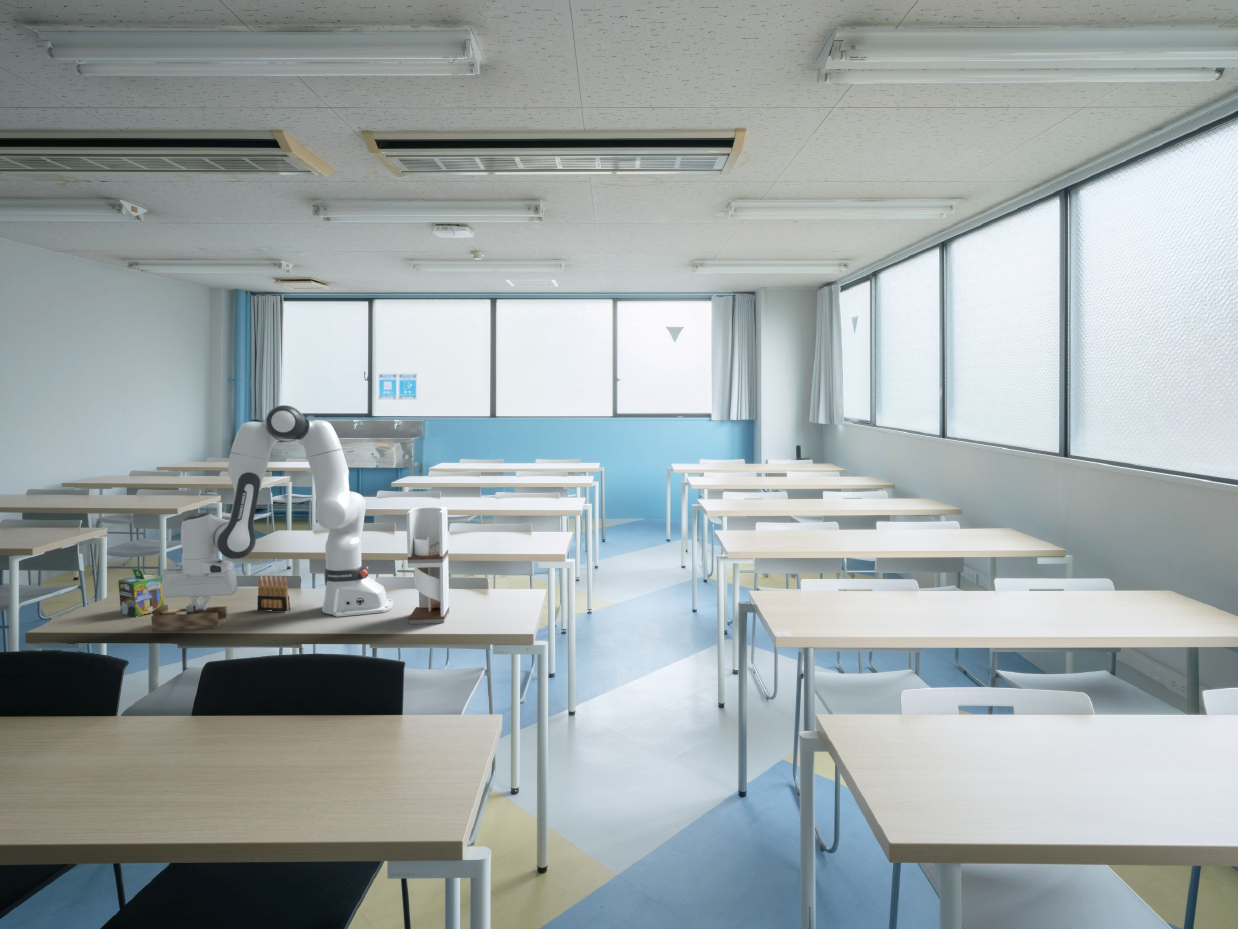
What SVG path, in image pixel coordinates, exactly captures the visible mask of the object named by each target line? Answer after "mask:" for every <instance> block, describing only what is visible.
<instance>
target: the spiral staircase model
mask: <svg viewBox="0 0 1238 929" xmlns="http://www.w3.org/2000/svg"><path fill="white" fill-rule="evenodd" d="M448 524H449V522H448V506H441V507H440V506H437V507H434V506H431V507H430V506H429V507H424V506H423V507H422V506H421V507H413V508H411V509H410V510H407V512H406V544H407V545H406V546H407V548H406V550H407V568H408V569H409V568H413V569H414V586H415V589H416V590H417V591H418V606H415V608H414V609H413V611H412V612H411V613H410V615H409V617H408V624H409V625H416V624H418V625H419V624H445V622H446V620H445V619H447V618H446V617H448V616H447V615H449V614H448V613H450V586H449V584H450V582H449V581H450V580H449V579H450V578H449V573H450V572H449V525H448Z"/></svg>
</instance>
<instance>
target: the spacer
mask: <svg viewBox="0 0 1238 929" xmlns="http://www.w3.org/2000/svg"><path fill="white" fill-rule="evenodd" d="M182 608H183V607H179V608H178V607H177V608H175V609H174V608H168V609H166V610H165V611H163V612H161V615H176V614H178V613H180V612H182Z"/></svg>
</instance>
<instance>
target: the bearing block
mask: <svg viewBox="0 0 1238 929" xmlns="http://www.w3.org/2000/svg"><path fill="white" fill-rule="evenodd" d="M227 607H228V606H227V605H226V606H224V605H223V606H207V609H206V610H199V613H198V614H176V615H161V612H163V611H165V610H166V609H169V606H168V604H164V605H162V606H160V607H158V608H156V609H155V610H153V613H152V615H151V618H150V619H151V620H150V621H151V631H152V632H163V631H180V630H181V629H186V630H193V629H192V628H207V629H214V628H213V627H216V628H215V629H218V628H219V627H220V626H222V625H223V624H224V623H225V622H224V621H226V620H227V621H228V609H227ZM181 608H182V612H186V607H181ZM173 609H175V608H173ZM227 621H226V622H227ZM223 622H224V623H223ZM222 623H223V624H222ZM221 624H222V625H221ZM219 625H220V626H219ZM218 626H219V627H218ZM217 627H218V628H217ZM179 629H180V630H179Z"/></svg>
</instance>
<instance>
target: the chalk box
mask: <svg viewBox="0 0 1238 929" xmlns="http://www.w3.org/2000/svg"><path fill="white" fill-rule="evenodd" d="M132 572H133V574H134V576H131V577H126V578H122V579H118V592H119V593H118V594H119V604H120V605H119V607H120V608H119V609H120V614H121V613H123V614H122V615H125V614H127V615H126V616H129V615H130V616H129V617H132V616H135V617H134V618H137V617H136V616H139V615H142V616H145V615H144V614H146V615H149V614H148V613H150V614H153V613H152V612H153V610H155V609H156V608H158V607H160V606H162V605H165V599H164V598H165V597H164V596H163V595H162V586H163V578H162V576H161V575H154V574H143V572H142V570H141V569H139V568H135V567H134V568H132ZM137 572H138V573H139V574H138V573H137ZM139 617H140V616H139Z"/></svg>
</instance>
